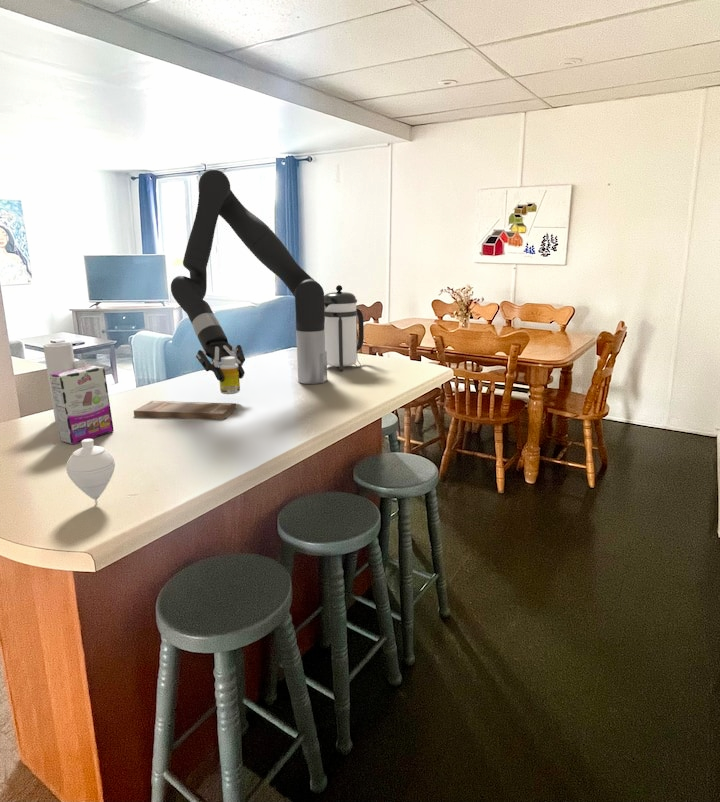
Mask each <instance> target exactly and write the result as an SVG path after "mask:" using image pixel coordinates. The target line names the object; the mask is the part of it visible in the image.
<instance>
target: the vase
mask: <svg viewBox="0 0 720 802" xmlns="http://www.w3.org/2000/svg"><path fill="white" fill-rule="evenodd" d="M42 347H43V352H44V359H45V366H46V372H47V378H48V383H49V384H48V385H49V390H50V397H51V403H52V408H53V409H52V410H53V415H54V422H55V423H56V424H58V420H57V415H56V409H55V403H54V398H53V392H52V386H51V381H50V374H55V373H59V372H64V371H69V370H74V369H78V368H83V367H87V364H86V360H75V354H74V353H75V352H74V347H73V343H71V342H54V343H48V344H44V345H43V346H42Z"/></svg>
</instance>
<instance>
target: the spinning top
mask: <svg viewBox="0 0 720 802" xmlns="http://www.w3.org/2000/svg"><path fill="white" fill-rule="evenodd" d="M94 440H95V439H94V438H92V439H84V440H82V441H81V442H80V443H81V446H82V447H80V448H78V449H76V450H74V451H73V452H72V453H71V455H70V457H69V458H68V460H67V462H66V468H65V469H66V470H65V471H66V473H67V477H68V478H69V479H70V480H71V481H72V483H73V484H74V486H75V487H77V488H78V489H79V490H80V491H82V493H84V494H85V495H86V496H87V497H89V498H90V499H92V500H94V504H95V505H98V499H99V498H100V496H102V494H103V493H104V491H105V490H106V488H107V486H108V485H109V483H110V482H111V479H112V478H113V477H112V476H113V474H114V472H115V468H116V461H115V458H114V456H113V454H111V452H110V451H109V450H107V449H106V448H105V447H103V446H100V445H99V446H98V445H95V444H94Z"/></svg>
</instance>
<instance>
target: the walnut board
mask: <svg viewBox="0 0 720 802" xmlns="http://www.w3.org/2000/svg"><path fill="white" fill-rule="evenodd" d="M237 408H238V407H237V403H235V402H234V403H233V402H230V403H229V402H201V401H200V402H199V401H197V402H196V401H173V400H172V401H170V400H169V401H168V400H166V401H165V400H150V401H149V402H148V403H145V404H143V405H141V406H140V407H138V408H136V409H134V410H133V417H136V418H139V417H140V418H141V417H142V418H143V417H144V418H171V419H193V420H194V419H195V420H196V419H198V420H224V419H226V418H227V417H229V416H230V415H231V414H232V413H234V412H235V411H236V410H237Z"/></svg>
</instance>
